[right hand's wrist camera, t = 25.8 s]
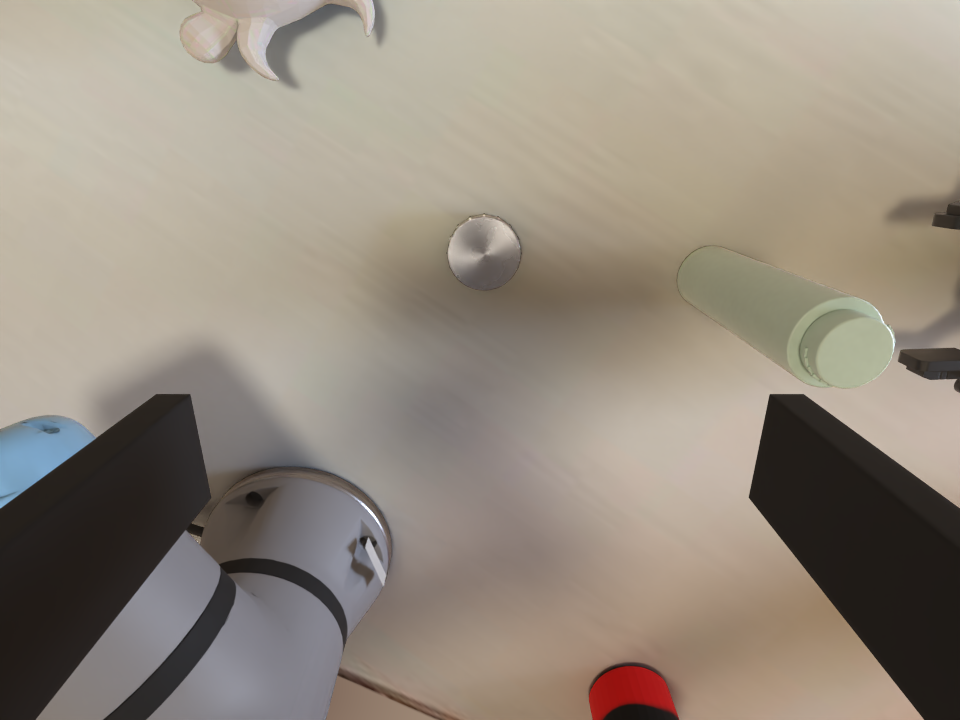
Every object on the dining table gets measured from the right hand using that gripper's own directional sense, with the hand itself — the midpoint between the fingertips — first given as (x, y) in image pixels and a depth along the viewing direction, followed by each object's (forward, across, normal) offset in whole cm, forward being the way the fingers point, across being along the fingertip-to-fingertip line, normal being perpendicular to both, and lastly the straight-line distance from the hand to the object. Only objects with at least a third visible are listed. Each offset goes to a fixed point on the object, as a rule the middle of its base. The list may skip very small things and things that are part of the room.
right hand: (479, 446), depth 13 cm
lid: (+26, 0, 0) cm, 26 cm away
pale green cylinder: (+27, +16, -2) cm, 31 cm away
